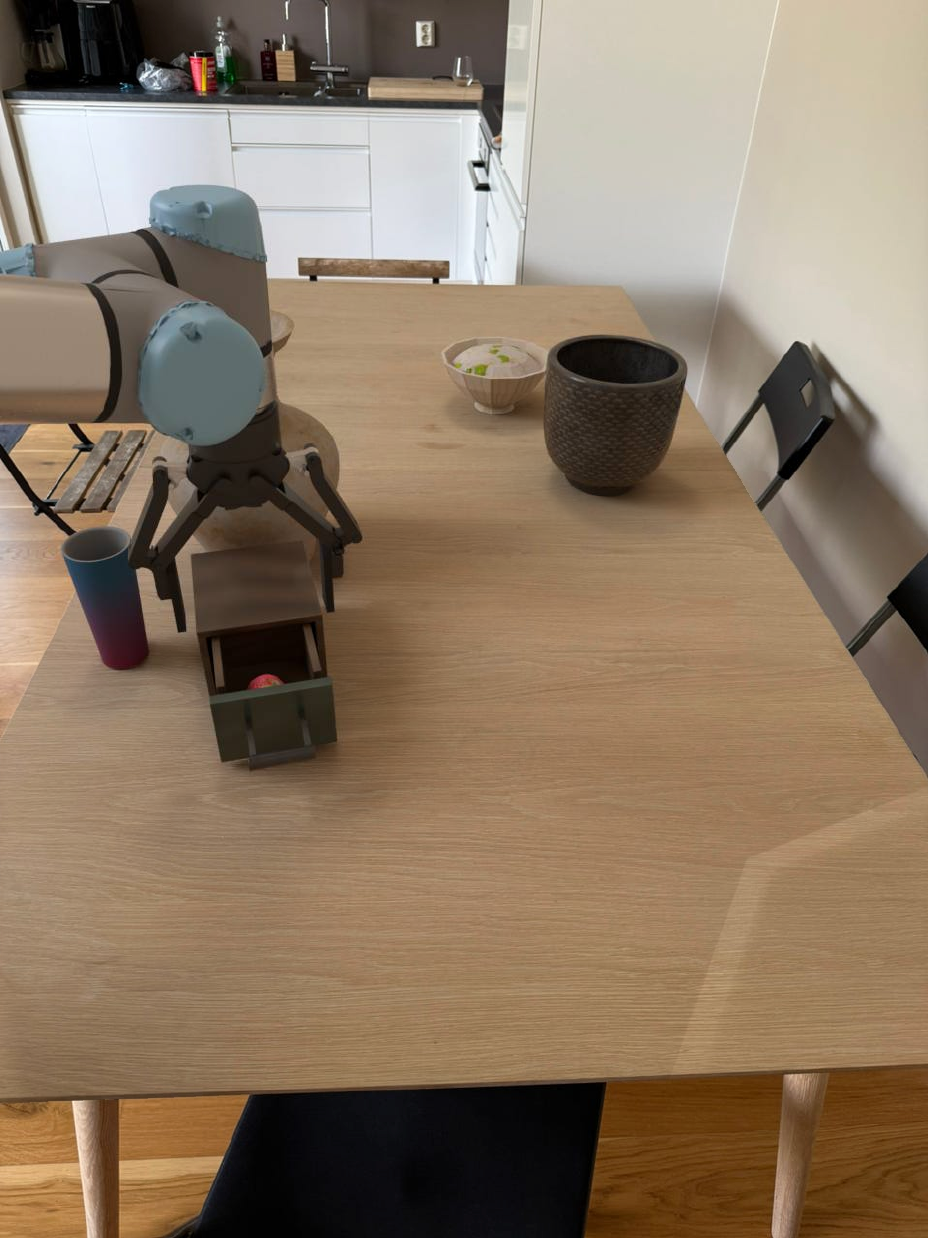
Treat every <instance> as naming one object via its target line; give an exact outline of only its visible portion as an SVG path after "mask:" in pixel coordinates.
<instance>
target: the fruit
mask: <svg viewBox="0 0 928 1238" xmlns="http://www.w3.org/2000/svg"><path fill="white" fill-rule="evenodd" d="M282 684H284V683H283V682H282V681H281V680H280V679H279V678H278V677H277V676H273V675H262V676H259V677H257V678H256V679H254V680H253V681H251V683H250V684H249V686H248V688H247V690H251V689H257V688H263V687H269V686H276V685H282Z"/></svg>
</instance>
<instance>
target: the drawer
mask: <svg viewBox="0 0 928 1238" xmlns="http://www.w3.org/2000/svg"><path fill="white" fill-rule="evenodd" d="M211 639H212V650H213V660H214V670H215V680H216V689H217V694H218V695H214V696H209V695H208V699H209V700H208V701H209V707H210V712H211V719H212V723H213V729H214V733H215V738H216V743H217V747H218V752H219V758H220V762H221V763H228V762H233V761H234V762H235V761H238V760H244V759H247V762H248V769H249V772H256V771H262V770H266V769H272V768H278V767H282V766H288V765H294V764H299V763H303V762H304V763H305V762H310V761H317V752H316V746H317V747H318V746H323V745H328V744H333V743H337V742H338V733H337V721H336V706H335V695H334V684H333V681H332V677H331V676H328V677H325V678H322V671H321V666H320V662H319V658H318V654H317V650H316V646H315V641H314V637H313V633H312V629H311V625H310V622H307V623H301V624H294V625H287V626H280V627H273V628H267V629H260V630H253V631H246V632H239V633H233V634H226V635H219V636H212V637H211ZM262 675H273V676H277V677H278V678H279V679H280V680H281V681H282V682H283V683H284V684H282V685H276V686H269V687H263V688H257V689H251V690H247V688H248V686H249V684H250V683H251V681H253V680H254V679H256V678H257V677H259V676H262Z"/></svg>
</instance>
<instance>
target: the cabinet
mask: <svg viewBox="0 0 928 1238" xmlns="http://www.w3.org/2000/svg"><path fill="white" fill-rule="evenodd" d="M190 567H191V580H192V592H193V593H192V594H193V605H194V617H195V631H196V637H197V642H198V647H199V652H200V657H201V662H202V667H203V672H204V677H205V682H206V687H207V692H208V697H209V696H214V695H218V694H217V689H216V680H215V670H214V660H213V650H212V639H211V637H212V636H219V635H226V634H233V633H239V632H246V631H253V630H260V629H267V628H273V627H280V626H287V625H294V624H301V623H307V622H310V625H311V629H312V633H313V637H314V641H315V646H316V650H317V654H318V658H319V662H320V666H321V671H322V678H325V677H329V675H328V665H327V654H326V642H325V628H324V620H323V619H324V618H323V617H324V616H323V612H322V608H321V604H320V600H319V597H318V593H317V589H316V586H315V581H314V578H313V574H312V570H311V566H310V561H309V562H308V558H307V554H306V550H305V546H304V543H303V540H301V541H293V542H285V543H277V544H269V545H261V546H253V547H245V548H237V549H229V550H221V551H213V552H205V551H204V552H199V553H191V554H190Z"/></svg>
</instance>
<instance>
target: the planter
mask: <svg viewBox="0 0 928 1238" xmlns="http://www.w3.org/2000/svg"><path fill="white" fill-rule="evenodd" d="M548 352H549V353H548V357H547V364H546V374H545V379H544V395H543V397H544V399H543V404H544V405H543V437H544V443H545V446H546V450H547V453H548V455H549V457H550V459H551V461H552V462H553V463H552V464H554V465H555V467H556V468H557V469H558V470H559V471H560V472H561V473H562V474H564V477H565V478H566V480H567V482H568V483H569V484H570V485H571V486H572V487H574V488H575V489H577V490H579V491H581V492H583V493H586V494H590V495H595V496H602V497H603V496H604V497H610V496H611V497H612V496H619V495H622V494H623V495H624V494H626V493H628V492H630V491H631V490H633V489H634V488H635V487H636V486H637V485H638V483H640V482H643V481H644V480H646V479H647V478H648V477H650V476H651V475H653V473H655V471H657V470H658V468H659V467H660V466H661V464H662V463H663V461H664V460H665V458H666V456H667V454H668V452H669V449H670V448H671V444H672V442H673V438H674V433H675V429H676V425H677V422H678V417H679V414H680V413H679V412H680V411H681V406H682V401H683V397H684V391H685V386H686V382H687V378H688V372H689V371H688V363H687V361H686V360H685V358H684V356H682V355H681V354H680V353H679V352H677V351H676V350H674V349H672V348H670V347H669V346H666V345H664V344H662V343H660V342H656V341H653V340H649V339H645V338H642V337H636V336H630V335H623V334H622V335H621V334H605V333H603V334H601V333H600V334H589V335H587V334H586V335H579V336H575V337H571V338H567V339H564V340H562V341H559V342H558V343H556V344H555V345H553V346H552V347H551V348H550V350H549V351H548Z"/></svg>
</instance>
